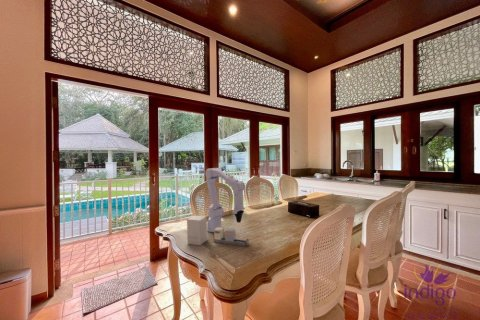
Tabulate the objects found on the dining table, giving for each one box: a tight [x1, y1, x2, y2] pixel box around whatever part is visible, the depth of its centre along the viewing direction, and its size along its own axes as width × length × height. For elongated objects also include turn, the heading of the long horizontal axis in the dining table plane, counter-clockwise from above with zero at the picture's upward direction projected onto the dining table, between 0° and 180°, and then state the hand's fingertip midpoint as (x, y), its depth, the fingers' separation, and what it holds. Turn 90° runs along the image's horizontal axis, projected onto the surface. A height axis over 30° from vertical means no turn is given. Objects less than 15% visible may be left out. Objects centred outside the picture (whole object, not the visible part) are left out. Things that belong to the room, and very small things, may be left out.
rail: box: [213, 237, 250, 248], centre depth 125 cm, size 21×4×3 cm, turn 71°
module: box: [224, 228, 237, 241], centre depth 125 cm, size 5×4×6 cm
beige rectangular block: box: [213, 227, 224, 240], centre depth 127 cm, size 4×4×6 cm
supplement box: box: [186, 215, 208, 246], centre depth 128 cm, size 9×9×15 cm
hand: (238, 222), depth 132 cm, fingers closed
